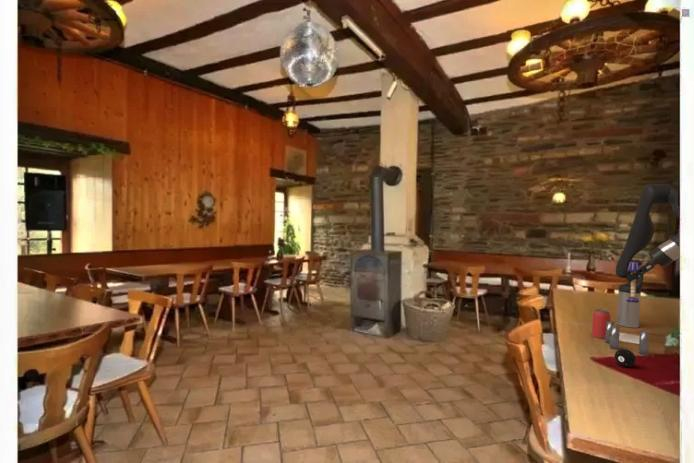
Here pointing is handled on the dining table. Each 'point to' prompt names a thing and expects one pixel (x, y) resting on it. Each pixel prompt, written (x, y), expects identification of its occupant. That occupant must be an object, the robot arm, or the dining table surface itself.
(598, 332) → the beer can
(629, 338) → the ceramic tile
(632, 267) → the toy lamp
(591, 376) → the dining table surface
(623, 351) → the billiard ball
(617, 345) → the spacer posts
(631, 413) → the dining table surface
